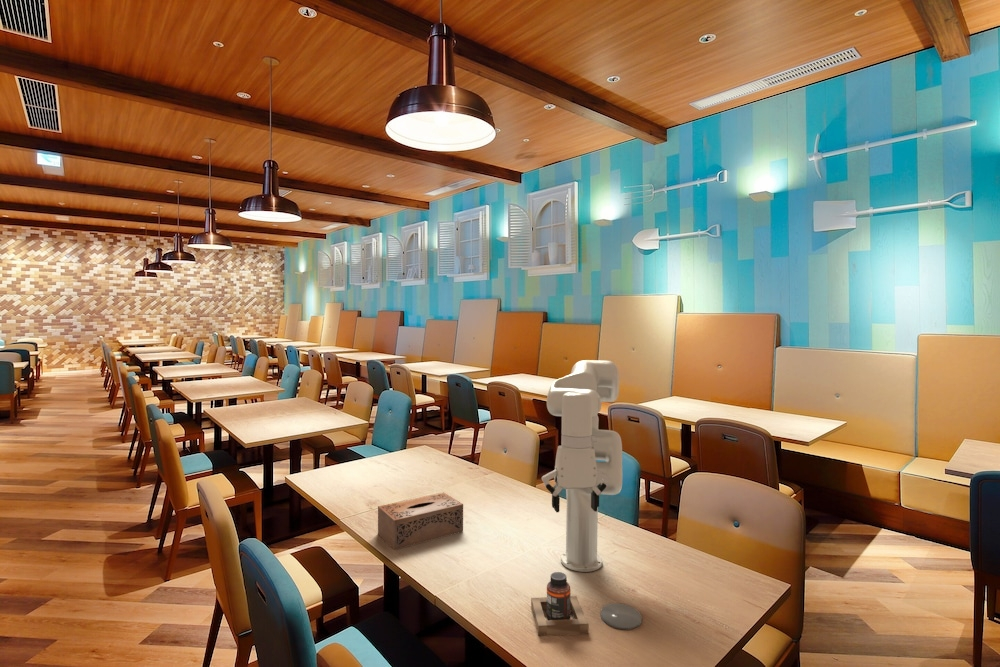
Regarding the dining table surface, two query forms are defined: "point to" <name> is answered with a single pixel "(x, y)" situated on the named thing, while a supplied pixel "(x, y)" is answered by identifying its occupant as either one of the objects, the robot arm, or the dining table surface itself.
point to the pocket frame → (559, 626)
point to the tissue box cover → (419, 520)
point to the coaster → (621, 616)
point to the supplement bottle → (558, 597)
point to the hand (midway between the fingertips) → (575, 510)
